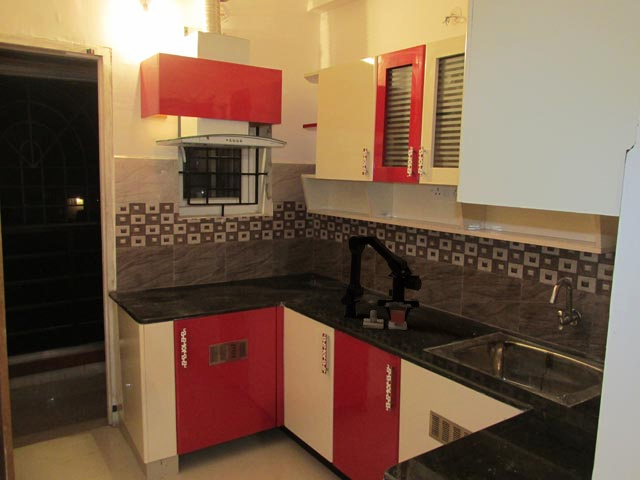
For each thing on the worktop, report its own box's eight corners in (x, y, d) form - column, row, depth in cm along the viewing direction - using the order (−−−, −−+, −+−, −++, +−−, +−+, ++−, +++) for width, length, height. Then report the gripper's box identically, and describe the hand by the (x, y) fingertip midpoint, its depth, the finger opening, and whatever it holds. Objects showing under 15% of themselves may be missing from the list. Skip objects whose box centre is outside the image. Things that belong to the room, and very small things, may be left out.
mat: (388, 322, 252) (388, 320, 252) (406, 323, 251) (406, 321, 251) (388, 328, 243) (388, 327, 242) (406, 329, 242) (406, 327, 241)
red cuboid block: (391, 322, 244) (391, 313, 244) (391, 318, 250) (391, 310, 249) (404, 323, 243) (404, 314, 243) (404, 319, 249) (404, 310, 249)
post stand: (364, 321, 254) (364, 308, 253) (383, 322, 253) (383, 308, 252) (363, 327, 244) (363, 313, 243) (383, 328, 243) (383, 314, 242)
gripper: (418, 284, 251) (417, 316, 253) (378, 282, 254) (377, 315, 256) (419, 289, 240) (418, 323, 243) (377, 288, 243) (376, 321, 245)
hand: (397, 320), depth 247 cm, fingers open, 6 cm apart
